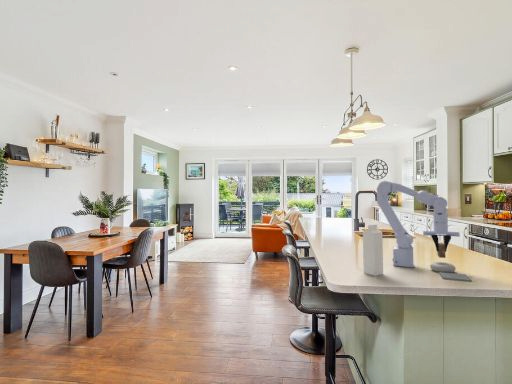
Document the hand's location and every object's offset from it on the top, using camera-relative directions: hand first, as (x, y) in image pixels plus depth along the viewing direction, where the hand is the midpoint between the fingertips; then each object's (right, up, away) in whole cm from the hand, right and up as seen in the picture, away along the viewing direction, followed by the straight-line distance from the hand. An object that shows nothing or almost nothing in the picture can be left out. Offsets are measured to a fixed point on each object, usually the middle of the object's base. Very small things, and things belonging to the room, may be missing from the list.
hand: (441, 251), depth 139 cm
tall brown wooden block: (0, -3, 0) cm, 3 cm away
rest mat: (-3, -8, -14) cm, 16 cm away
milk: (-35, -9, -6) cm, 36 cm away
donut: (+4, -7, -1) cm, 8 cm away
